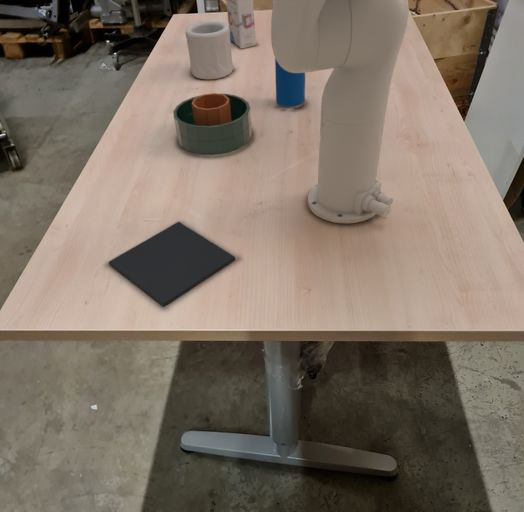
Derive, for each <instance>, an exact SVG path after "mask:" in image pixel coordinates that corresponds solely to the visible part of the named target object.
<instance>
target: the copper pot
mask: <svg viewBox="0 0 524 512" xmlns="http://www.w3.org/2000/svg"><path fill="white" fill-rule="evenodd" d="M214 93H215V92H212V93H205V94H201V96H200V95H198V96H199V97H196V96H195V97H196V98H195V99H194V100H193V102H192V109H193V116H194V122H195V125H196V126H214V125H221V124H225V123H229V122H232V120H231V110H230V100H229V98H228V97H227V96H225V95H223V94H224V93H215V94H214Z"/></svg>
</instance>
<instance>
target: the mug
mask: <svg viewBox="0 0 524 512" xmlns="http://www.w3.org/2000/svg"><path fill="white" fill-rule="evenodd" d="M185 38H186V43H187V49H188V56H189V63H190V72H191V74H192V75H193V77H195V78H197V79H201V80H217V79H222V78H225V77H227V76H230V74H231V73H232V72H233V70H234V63H233V57H232V45H231V40H230V28H229V24H228V23H226V22H224V21H219V20H204V21H199V22H195V23H193V24H190V25H188V26H187V27H186V29H185Z"/></svg>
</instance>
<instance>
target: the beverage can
mask: <svg viewBox="0 0 524 512" xmlns="http://www.w3.org/2000/svg"><path fill="white" fill-rule="evenodd" d="M274 67H275V68H274V69H275V70H274V71H275V101H276V104H277V105H278V106H280V107H282V108H292V109H297V108H300V107H301V106H302V105H303V104H304V103H305V101H306V73H291V72H288V71H286V70H284V69H283V68H282V67H281V66H280V65H279V64H278V62H277V60H276V58H275V57H274Z"/></svg>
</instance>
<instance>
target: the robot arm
mask: <svg viewBox="0 0 524 512" xmlns="http://www.w3.org/2000/svg"><path fill="white" fill-rule="evenodd" d="M409 6H410V5H409V0H273V2H272V9H271V17H270V42H271V48H272V53H273V55H274V59H275V58H276V60H277V62H278V64H279V65H280V66H281V67H282V68H283V69H284V70H286V71H288V72H291V73H305V74H306V73H312V72H320V71H325V70H331V69H332V71H331V74H330V75H329V77H328V79H327V81H326V83H325V85H324V88H323V91H322V95H321V102H320V120H319V122H320V123H319V142H318V143H319V144H318V166H317V167H318V168H317V184H315V185H314V186H313V187H312V188H311V189H310V191H309V192H308V195H307V204H308V205H307V206H308V208H309V210H310V211H311V212H312V213H313V214H314V215H315V216H317V217H319V218H320V219H322V220H325V221H327V222H330V223H336V224H356V223H362V222H364V221H368V220H369V219H372V218H373V217H375V216H380V217H382V218H387V217H388V216H390V213H391V211H392V207H391V205H392V204H393V202H394V201H393V200H394V199H393V197H390V196H388V195H384V194H382V192H381V188H382V181H380V180H377V175H378V168H379V164H380V163H379V162H380V154H381V147H382V141H383V135H384V127H385V121H386V120H385V119H386V113H387V109H388V103H389V102H388V101H389V95H390V91H391V90H390V89H391V85H392V78H393V74H394V70H395V66H396V63H397V59H398V56H399V53H400V49H401V47H402V44H403V41H404V38H405V34H406V30H407V25H408V21H409V9H410V8H409Z"/></svg>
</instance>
